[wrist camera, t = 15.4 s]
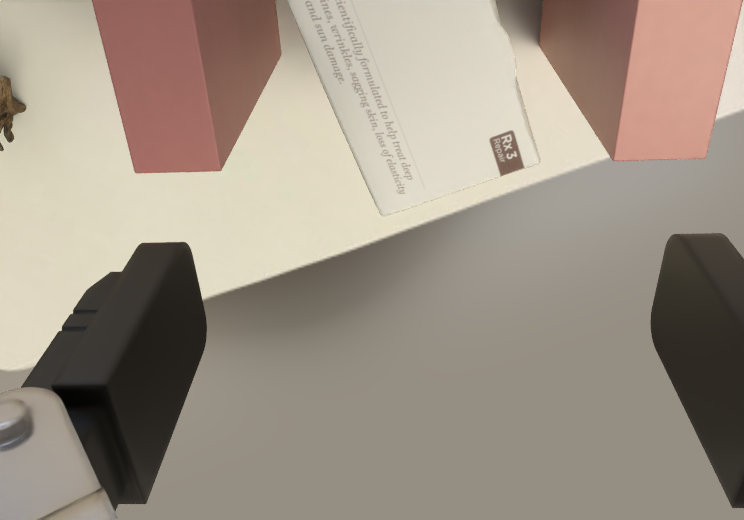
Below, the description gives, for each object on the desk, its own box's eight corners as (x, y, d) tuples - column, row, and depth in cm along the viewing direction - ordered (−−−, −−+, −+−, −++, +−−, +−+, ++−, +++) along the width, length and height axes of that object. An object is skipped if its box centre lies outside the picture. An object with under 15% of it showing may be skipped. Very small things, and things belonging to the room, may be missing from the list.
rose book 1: (203, -72, 32) (87, -13, 20) (266, -75, 32) (188, -17, 20) (223, 57, 35) (134, 174, 23) (281, 55, 35) (221, 172, 23)
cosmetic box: (316, -81, 32) (261, -21, 19) (441, -135, 30) (472, -110, 18) (380, 86, 36) (371, 227, 23) (493, 45, 34) (548, 170, 22)
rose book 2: (550, -88, 31) (643, -35, 19) (617, -90, 31) (753, -40, 19) (539, 46, 34) (612, 161, 22) (599, 44, 34) (706, 159, 22)
